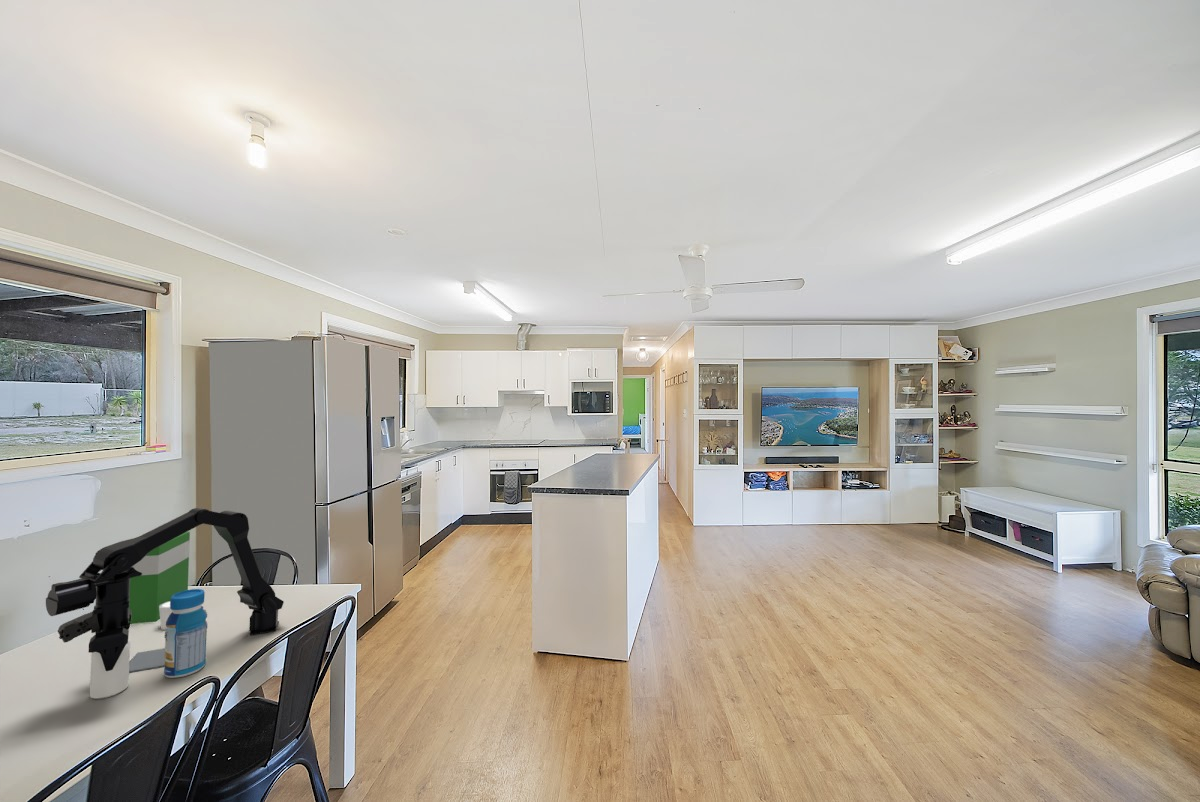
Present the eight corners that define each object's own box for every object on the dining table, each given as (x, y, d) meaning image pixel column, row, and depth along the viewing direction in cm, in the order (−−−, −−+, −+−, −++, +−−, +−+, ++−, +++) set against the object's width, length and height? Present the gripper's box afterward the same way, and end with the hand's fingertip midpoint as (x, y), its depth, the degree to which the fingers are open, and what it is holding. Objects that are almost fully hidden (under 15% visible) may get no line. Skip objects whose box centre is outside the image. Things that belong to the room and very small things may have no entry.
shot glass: (170, 620, 149) (171, 598, 149) (193, 620, 150) (194, 598, 150) (151, 631, 142) (152, 608, 142) (176, 630, 143) (176, 607, 143)
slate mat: (188, 645, 134) (188, 644, 134) (174, 665, 124) (174, 663, 124) (137, 654, 129) (137, 652, 129) (118, 674, 119) (118, 673, 119)
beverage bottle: (191, 678, 118) (194, 599, 119) (154, 680, 117) (156, 600, 117) (213, 660, 127) (216, 586, 127) (178, 662, 125) (181, 587, 126)
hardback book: (161, 601, 163) (164, 532, 164) (187, 599, 165) (189, 531, 166) (127, 624, 146) (130, 547, 147) (156, 621, 149) (159, 545, 149)
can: (102, 701, 108) (104, 650, 109) (81, 697, 110) (83, 646, 110) (135, 685, 115) (137, 636, 115) (115, 682, 116) (117, 633, 116)
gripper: (68, 596, 114) (66, 660, 114) (55, 622, 100) (52, 695, 100) (132, 585, 122) (130, 645, 121) (128, 608, 108) (126, 676, 108)
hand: (110, 664), depth 112 cm, fingers open, 7 cm apart
